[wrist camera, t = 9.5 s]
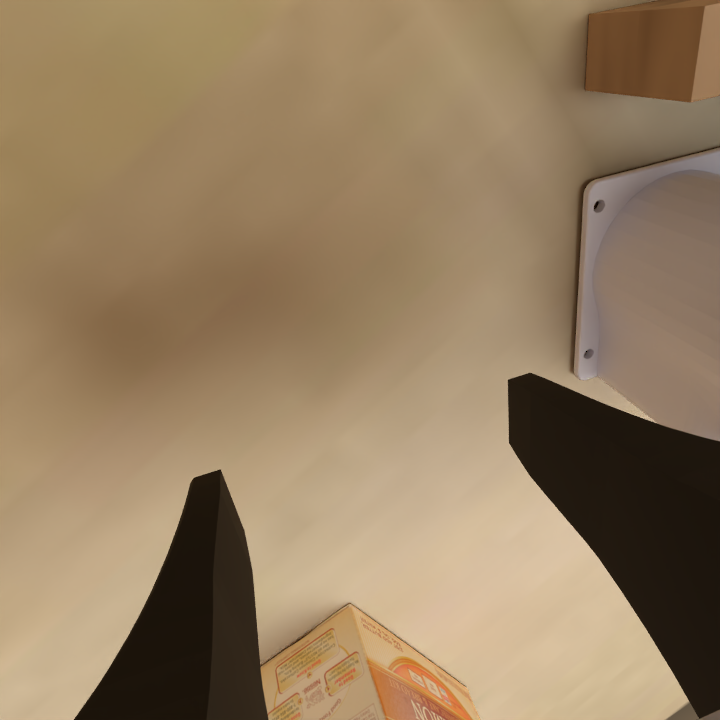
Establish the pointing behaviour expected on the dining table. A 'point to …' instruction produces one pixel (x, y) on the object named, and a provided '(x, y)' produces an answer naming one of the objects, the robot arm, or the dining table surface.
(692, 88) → the walnut plank
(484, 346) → the dining table surface
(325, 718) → the coffeecake box
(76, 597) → the dining table surface
